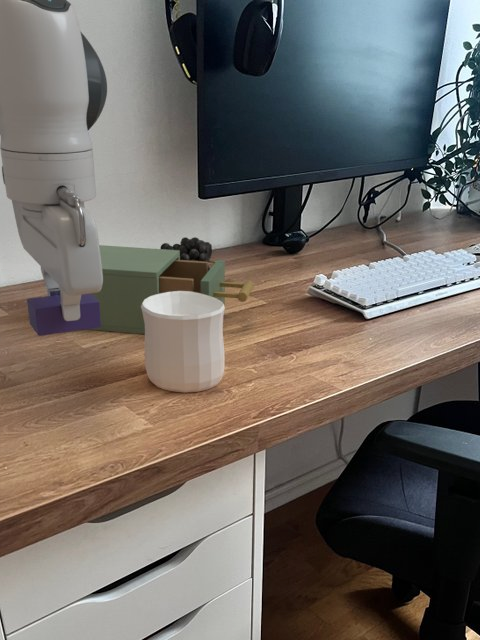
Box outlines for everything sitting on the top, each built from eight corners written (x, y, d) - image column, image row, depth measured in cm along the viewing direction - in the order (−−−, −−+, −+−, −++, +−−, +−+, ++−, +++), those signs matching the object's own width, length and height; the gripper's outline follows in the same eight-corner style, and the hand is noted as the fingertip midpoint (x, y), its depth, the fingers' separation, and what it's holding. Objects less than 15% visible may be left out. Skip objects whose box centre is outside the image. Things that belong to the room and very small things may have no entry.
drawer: (255, 309, 107) (256, 262, 103) (243, 334, 97) (244, 283, 94) (141, 300, 109) (138, 254, 106) (118, 324, 100) (114, 274, 96)
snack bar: (38, 336, 74) (35, 309, 73) (29, 324, 77) (26, 298, 76) (101, 327, 77) (99, 301, 76) (90, 316, 80) (88, 291, 79)
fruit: (122, 236, 112) (215, 234, 113) (128, 241, 120) (214, 239, 121) (125, 290, 114) (216, 288, 115) (131, 292, 122) (216, 290, 123)
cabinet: (181, 308, 110) (179, 250, 105) (159, 335, 99) (156, 272, 94) (93, 301, 111) (88, 244, 107) (62, 327, 101) (55, 265, 96)
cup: (157, 360, 91) (154, 287, 86) (232, 366, 90) (232, 293, 85) (135, 389, 83) (129, 311, 78) (216, 397, 81) (216, 318, 77)
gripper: (114, 196, 63) (122, 338, 70) (55, 163, 78) (67, 283, 85) (44, 199, 60) (60, 347, 67) (-3, 165, 76) (14, 288, 83)
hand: (63, 311), depth 76 cm, fingers closed on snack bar, 4 cm apart
